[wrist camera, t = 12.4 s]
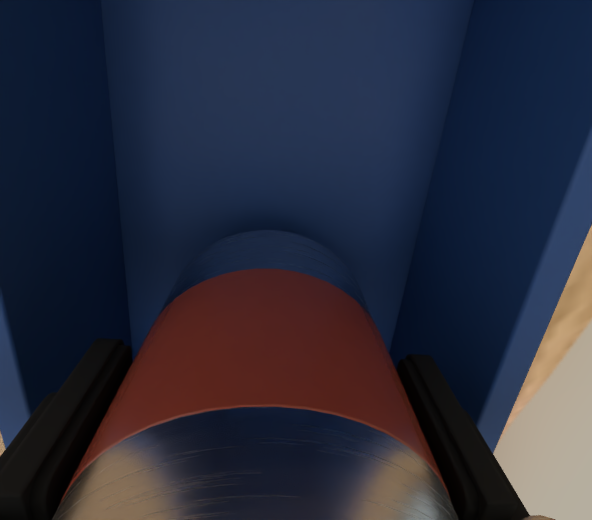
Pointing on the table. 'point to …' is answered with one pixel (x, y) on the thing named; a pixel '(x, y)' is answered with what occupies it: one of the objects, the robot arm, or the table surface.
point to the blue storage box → (294, 169)
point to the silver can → (260, 402)
